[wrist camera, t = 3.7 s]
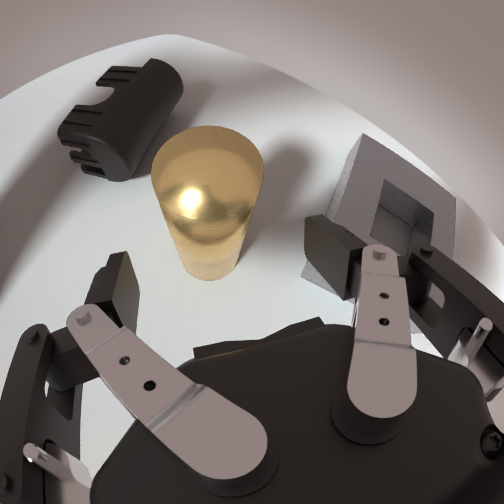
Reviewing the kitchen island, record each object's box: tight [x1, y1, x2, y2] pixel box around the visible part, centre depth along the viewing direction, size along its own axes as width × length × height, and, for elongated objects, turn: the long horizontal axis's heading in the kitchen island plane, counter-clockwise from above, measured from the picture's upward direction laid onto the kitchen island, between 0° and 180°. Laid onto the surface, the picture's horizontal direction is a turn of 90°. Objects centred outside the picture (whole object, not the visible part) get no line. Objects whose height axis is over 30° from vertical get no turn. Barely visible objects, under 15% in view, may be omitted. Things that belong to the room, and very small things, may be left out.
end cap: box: [57, 58, 183, 182], centre depth 20 cm, size 10×7×7 cm
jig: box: [301, 133, 456, 334], centre depth 21 cm, size 12×14×4 cm
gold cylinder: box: [151, 126, 264, 281], centre depth 15 cm, size 4×4×11 cm
